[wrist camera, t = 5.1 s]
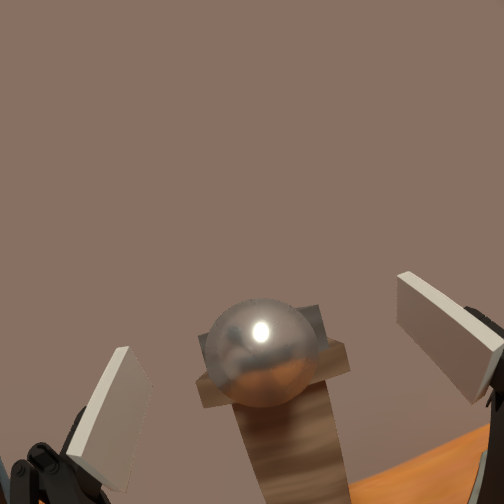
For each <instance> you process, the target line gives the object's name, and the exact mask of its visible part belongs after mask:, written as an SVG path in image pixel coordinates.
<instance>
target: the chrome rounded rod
mask: <svg viewBox="0 0 504 504" xmlns="http://www.w3.org/2000/svg"><path fill="white" fill-rule="evenodd" d="M318 358H319V348H318V341H317V338H316V335H315V332H314V330H313V328H312V326H311V325H310V323H309V322H308V320H307V319H306V318H305V317H304V316H303V315H302V314H301V313H300V312H299V311H298V310H296V309H295V308H293V307H292V306H290V305H288V304H286V303H283V302H280V301H277V300H273V299H251V300H247V301H244V302H241V303H239V304H236V305H234V306H232V307H231V308H229V309H228V310H226V311H225V312H224V313H223V314H222V315H221V316H220V317H219V318H218V319H217V320H216V322H215V323H214V324H213V326H212V328H211V329H210V332H209V334H208V336H207V340H206V345H205V362H206V366H207V370H208V372H209V375H210V377H211V379H212V380H213V382H214V384H215V385H216V386H217V387H218V389H219V390H220V391H221V392H222V393H223V394H225V395H226V396H227V397H229V398H230V399H232V400H234V401H236V402H238V403H240V404H243V405H246V406H250V407H273V406H277V405H280V404H283V403H285V402H288V401H289V400H291V399H293V398H294V397H296V396H297V395H299V394H300V393H301V392H302V391H303V390H304V389H305V388H306V386H307V385H308V384H309V383H310V381H311V379H312V378H313V376H314V373H315V371H316V368H317V364H318Z"/></svg>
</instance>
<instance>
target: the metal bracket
mask: <svg viewBox="0 0 504 504" xmlns="http://www.w3.org/2000/svg"><path fill="white" fill-rule="evenodd" d="M487 451H488V450H486V451H484V452H483V453H482V455H481V459H480V463H479V466H480V467H479V471H478V475H477V478H476V482H475V485H474V488H473V491H472V494H471V497H470V500H469V502H468V504H476V503H477V499H478V496H479V492H480V488H481V484H482V479H483V474H484V469H485V464H486V458H487Z"/></svg>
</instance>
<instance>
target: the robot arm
mask: <svg viewBox="0 0 504 504" xmlns="http://www.w3.org/2000/svg"><path fill="white" fill-rule="evenodd" d="M397 323H398V324H399V325H400V327H401V328H402V329H403V330H404V331H405V332H406V333H407V334H408V335H409V336H410V337H411V338H412V339H413V340H414V341H415V342H416V343H417V344H418V345H419V346H420V347H421V348H422V350H423V351H424V352H425V353H426V354H427V355H428V356H429V357H430V358H431V359H432V360H433V361H434V363H435V364H436V365H437V366H438V367H439V368H440V369H441V370H442V371H443V373H444V374H445V375H446V376H447V377H448V378H449V379H450V380H451V382H452V383H453V384H454V385H455V386H456V387H457V388H458V389H459V390H460V392H461V393H462V394H463V395H464V397H465V398H466V399H467V400H468V401H469V402H470V404H472V405H473V404H474V403H475V402H477V401H478V400H479V399H481V398H482V397H483V396H484V395H485V394H486V392H487V389H488V387H489V385H490V386H491V387H492V388H493V391H492V393H491V395H490V397H489V399H488V401H487V404H486V407H488V406H489V404H490V402H491V422H490V434H489V443H488V451H487V458H486V464H485V469H484V474H483V479H482V484H481V488H480V492H479V496H478V499H477V503H476V504H504V329H502V328H501V327H500V326H498V325H497V324H496V323H494V322H493V321H491V320H490V319H489V318H488V317H485V315H483V314H482V313H481V312H479V311H478V310H476V309H473V308H470V307H467V306H466V307H465V308H462V307H461V306H459V305H457V304H456V303H455V302H454V301H452V300H451V299H449V298H448V297H447V296H445V295H444V294H442V293H441V292H439V291H438V290H437V289H435V288H433V287H432V286H431V285H429V284H428V283H426V282H425V281H423V280H422V279H420V278H419V277H417V276H416V275H414V274H413V273H411V272H409V271H408V272H405V273H402V274H400V275H397ZM152 388H153V385H152V384H151V382H150V380H149V379H148V377H147V376H146V374H145V372H144V371H143V369H142V367H141V366H140V364H139V362H138V360H137V359H136V357H135V355H134V353H133V352H132V350H131V348H130V346H126V347H120V348H117V349H116V351H115V353H114V354H113V356H112V358H111V360H110V362H109V364H108V366H107V367H106V369H105V371H104V373H103V375H102V377H101V379H100V381H99V383H98V385H97V387H96V389H95V391H94V393H93V395H92V397H91V399H90V401H89V403H88V405H87V406H85V407H84V408H83V409H82V410H81V411H80V412H79V414H78V415H77V417H76V419H75V421H74V425H72V428H71V431H70V432H69V434H68V436H67V438H66V441H65V443H64V445H63V448H62V450H61V452H60V454H59V455H58V454H57V453H56V452H55V451H54V450H53V449H52V448H51V447H50V446H49V445H48V444H46V443H43V442H40V443H37V444H35V445H34V446H32V448H31V449H30V450H29V452H28V455H27V461H28V462H30V463H31V464H32V465H33V466H34V467H33V466H32V465H31V464H30V463H28V462H27V461H26V460H18V461H17V462H16V463H14V465H13V467H12V470H11V478H10V479H9V477H8V475H7V472H6V470H5V468H4V465H3V463H2V460H1V457H0V504H39V500H41V501H42V502H44V503H45V504H111V503H110V502H109V499H108V498H107V496H106V494H105V493H104V492H103V490H101V486H102V484H103V485H104V486H106V487H107V488H108V489H110V490H112V491H118V492H126V491H127V487H128V482H129V477H130V473H131V468H132V464H133V460H134V456H135V451H136V448H137V444H138V439H139V436H140V432H141V428H142V424H143V420H144V416H145V413H146V409H147V405H148V402H149V398H150V395H151V391H152Z"/></svg>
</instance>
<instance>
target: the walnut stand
mask: <svg viewBox="0 0 504 504" xmlns="http://www.w3.org/2000/svg"><path fill="white" fill-rule="evenodd" d="M295 309H296V310H298V311H299V312H300V313H301V314H302V315H303V316H304V317H305V318H306V319H307V320H308V322H309V323H310V325H311V326H312V328H313V330H314V332H315V335H316V338H317V341H318V348H319V358H318V364H317V368H316V371H315V373H314V376H313V378H312V379H311V381H310V383H309V384H308V385H307V386H306V388H305V389H304V390H303V391H302V392H301V393H300V394H299V395H297V396H296V397H294V398H293V399H291V400H289V401H288V402H285V403H283V404H280V405H277V406H273V407H250V406H246V405H243V404H240V403H238V402H236V401H234V400H232V399H230V398H229V397H227V396H226V395H225V394H223V393H222V392H221V391H220V390H219V389H218V387H217V386H216V385H215V384H214V382H213V380H212V379H211V377H210V375H209V372H208V370H207V371H206V372H205V374H203V375H202V376H201V377H200V378H199V379H198V380H197V381H196V385H197V388H198V391H199V395H200V398H201V401H202V404H203V407H204V408H209V407H215V406H222V405H227V404H232V407H233V410H234V414H235V417H236V420H237V423H238V426H239V429H240V432H241V435H242V438H243V441H244V444H245V447H246V450H247V452H248V456H249V458H250V461H251V464H252V467H253V469H254V472H255V475H256V477H257V480H258V483H259V485H260V488H261V491H262V493H263V496H264V498H265V501H266V503H267V504H351V499H350V494H349V488H348V483H347V478H346V473H345V467H344V462H343V458H342V453H341V448H340V443H339V438H338V434H337V429H336V425H335V420H334V416H333V412H332V408H331V403H330V398H329V394H328V390H327V386H326V382H325V380H326V379H329V378H332V377H335V376H338V375H341V374H343V373H346V372H349V371H350V367H349V363H348V359H347V354H346V350H345V347H344V344H343V343H341V342H338V341H336V340H333V339H330V338H328V337H327V336H326V332H325V328H324V325H323V321H322V318H321V313H320V310H319V306H318V305H313V306H307V307H301V308H295ZM208 334H209V333H205V334H202V335H199V336H198V338H199V342H200V346H201V350H202V354H203V357H204V361H205V345H206V340H207V336H208ZM205 364H206V362H205ZM206 368H207V366H206Z"/></svg>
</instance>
